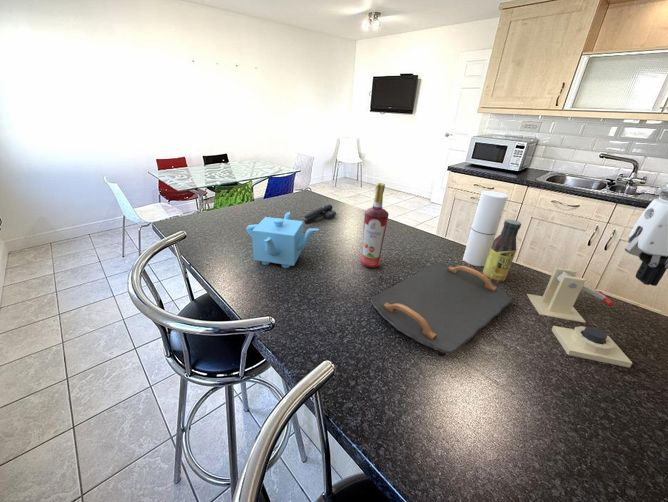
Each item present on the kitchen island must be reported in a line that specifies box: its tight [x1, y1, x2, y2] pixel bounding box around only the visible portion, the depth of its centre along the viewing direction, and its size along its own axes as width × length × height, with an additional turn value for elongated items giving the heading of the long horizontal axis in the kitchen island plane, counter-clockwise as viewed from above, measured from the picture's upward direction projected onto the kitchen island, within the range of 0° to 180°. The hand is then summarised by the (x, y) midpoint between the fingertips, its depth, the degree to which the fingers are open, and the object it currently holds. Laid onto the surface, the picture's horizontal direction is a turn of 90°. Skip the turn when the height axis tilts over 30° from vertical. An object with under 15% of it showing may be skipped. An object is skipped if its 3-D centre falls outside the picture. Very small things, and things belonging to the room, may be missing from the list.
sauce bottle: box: [482, 218, 522, 284], centre depth 89 cm, size 6×6×20 cm
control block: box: [551, 325, 633, 368], centre depth 66 cm, size 11×8×4 cm
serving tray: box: [370, 263, 514, 358], centre depth 79 cm, size 39×23×6 cm, turn 127°
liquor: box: [359, 182, 390, 269], centre depth 94 cm, size 7×7×28 cm
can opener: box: [303, 204, 337, 224], centre depth 134 cm, size 18×7×6 cm, turn 129°
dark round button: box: [582, 326, 608, 344], centre depth 65 cm, size 4×4×2 cm
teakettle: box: [246, 211, 320, 269], centre depth 99 cm, size 19×19×15 cm
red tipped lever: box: [557, 272, 615, 307], centre depth 75 cm, size 12×5×2 cm, turn 74°
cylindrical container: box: [462, 190, 509, 267], centre depth 97 cm, size 7×7×25 cm
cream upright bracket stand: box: [526, 267, 587, 324], centre depth 77 cm, size 10×9×12 cm
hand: (645, 281), depth 60 cm, fingers closed
